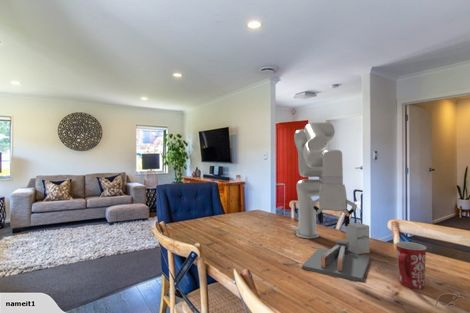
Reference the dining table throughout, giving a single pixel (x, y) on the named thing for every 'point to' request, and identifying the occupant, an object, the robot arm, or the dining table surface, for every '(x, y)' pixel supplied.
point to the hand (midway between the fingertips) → (333, 224)
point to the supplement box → (358, 238)
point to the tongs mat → (351, 268)
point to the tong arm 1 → (330, 256)
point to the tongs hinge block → (344, 243)
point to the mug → (411, 264)
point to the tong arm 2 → (341, 258)
